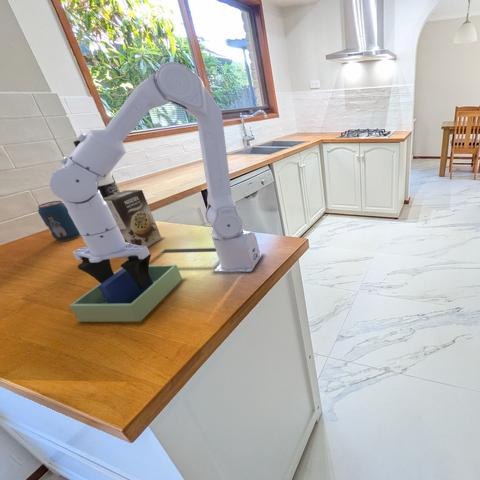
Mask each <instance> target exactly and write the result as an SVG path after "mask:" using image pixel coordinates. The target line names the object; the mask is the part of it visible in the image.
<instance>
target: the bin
mask: <svg viewBox="0 0 480 480" xmlns="http://www.w3.org/2000/svg"><path fill="white" fill-rule="evenodd" d="M121 269H122V267H121V268H119V269H118V270H117V271H115V272H113V273H114V274H116V273H117V272H118V271H120V270H121ZM149 275H150V277H151V280H152V282H153V284H152V285H151V286H150V287H149V288H148V289H147V290H146V291H144V292H143V293H142V294H141V295H140V296H139V297H138V298H137V299H136V300H134V301H133V302H132V303H128V304H108V303H107V301H106V299H105V298H104V296H103V294H102V292H101V291H100V289H99V287H98V286H99V285H100V284H101V283H100V282H99V283H97V285H95V286H94V287H93V288H91V289H90V290H89V291H87V292H86V293H84V294H83V295H81V296H80V297H79V298H77V299H76V300H74V301H73V302H72V303H70V304H69V305H68V307H69V308H70V310H71V311H72V313H73V314H74V317H76V319H77V320H78V322H95V323H96V322H107V323H108V322H122V323H123V322H124V323H125V322H141V321H143V320H144V318H146V316H147V315H149V313H151V311H153V310H154V308H155V307H157V306H158V304H159V303H161V301H162V300H164V299H165V297H166V296H168V294H169V293H170V292H171V291H173V289H174V288H175V287H176V286H177V285H178V284H179V283H180V282H181V281H182V280H183V276H182V275H181V272H180V269H179V267H178V264H149Z"/></svg>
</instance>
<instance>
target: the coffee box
mask: <svg viewBox="0 0 480 480" xmlns="http://www.w3.org/2000/svg"><path fill="white" fill-rule="evenodd" d="M103 199H104V201H105V202H106V203H107V205H108V207H109V209H110V211H111V213H112V215H113V217H114V219H115V221H116V224H117V225H118V228H119V230H120V232H121V234H122V236H123V238H124V240H125V242H126V243H130V244H134V245H139V246H147V248H148V247H150V246H152V245H154V244H156V243H157V242H159V241H160V240H162V239H163V238H162V235H161V232H160V230H159V228H158V225H157V223H156V221H155V218H154V215H153V213H152V210H151V208H150V206H149V202H148V201H147V199H146V197H145V193H144V192H143V189H130V190H129V189H125V190H122V191H120V192H119V193H116V194H113V195H111V196H108V197H105V198H103Z"/></svg>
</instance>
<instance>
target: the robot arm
mask: <svg viewBox="0 0 480 480" xmlns="http://www.w3.org/2000/svg"><path fill="white" fill-rule="evenodd" d="M167 101H168V102H169V103H171V104H174V105H176V106H178V107H180V108H182V109H183V110H184V111H185V112H186V113H187V114H189V115H190V116H191V117H193V119H195V120H196V124H197V130H198V138H199V144H200V150H201V151H200V152H201V157H202V163H203V170H204V176H205V177H204V178H205V184H206V190H207V197H206V201H207V206H206V209H205V213H204V217H205V220H206V222H207V223H208V224H209V225H210V226H211V227H212V230H211V233H210V237H211V239H212V242H213V245H214V248H215V249H216V255H217V258H218V261H219V264H218V266H217V267H215V269H214V272H218V273H219V272H241V273H250V272H252V271H253V270H254V269H255V267H256V265H257V264H258V262H259V261H260V259H262V256H263V255H262V253H261V251H260V248H259V243H258V239H257V236H256V234H255V232H253V231H248V230H245V229H244V228H243V220H242V217H241V216H240V215H239V213H238V209H237V205H236V202H235V199H234V197H233V194H232V187H231V186H232V185H231V179H230V178H231V177H230V171H229V162H228V153H227V144H226V136H225V129H224V121H223V113H222V109H221V108H220V106H219V104H218V103H217V102H216V101H215V99H214V98H213V96H212V95H211V93H210V92H209V90H208V89H207V88H206V86H205V84H204V82H203V80H202V79H201V77H200V76H198V75H197V74H196V73H195V72H193V71H192V70H191V69H189V67H187V66H186V65H184V64H183V63H180V62H176V61H168V62H164V63H163V64H161V65H160V66H159V67H158V69H157V70H155V72H154V73H152V74H151V75H149V76H148V77H147V78H145V80H143V81H142V82H141V83H140V84H138V85H137V86H136V87H135V88H134V89H133V91H132V92H131V93H130V94H129V95H128V97H127V99H125V101H124V103H123V104H122V105H121V106H120V108H119V109H118V110H117V111H116V113H115V114H114V116H113V117H112V118H111V120H110V121H109V123H107V125H106V126H105V128H104V129H90V130H89V131H87V133H86V134H85V133H83V132H81V133H80V134H79V136H78V137H77V138H76V140H79V141H80V143H79V144H78V146H77V147H75V148H74V149H73V150H72V152H71V153H70V154H69V155H68V157H66V156H63V157H61V159H60V161H59V163H60V164H62V165H64V166H62V167H60V168H59V169H56V170H55V171H53V173H52V176H51V177H50V180H49V187H50V190H51V192H52V193H53V194H54V195H55V196H56V197H57V198H58V199H61V201H62V203H64V205H65V206H66V208H67V209H68V213H69V215H70V217H71V218H72V220H73V222H74V224H75V226H76V228H77V229H78V231H79V233H80V235H79V236H80V237H81V238H82V241H83V242H84V244H85V246H84V247H79V248H78V249H76V250H74V251H72V256H74V258H75V260H76V261H81V263H79V264H78V265H77V268H78V270H80V271H82V272H84V273H86V274H88V275H90V276H91V277H92V278H93V279H95V280H96V281H97V282H98V283H99V284H100V283H101V284H102V283H103V282H104V281H106V280H107V279H109V278H110V277H111V276H113V275H114V273H115V272H114V271H113V268H112V265H111V260H112V259H127V260H126V261H124V262H123V263H121V264H120V265H119V266H120V267H121V268H123V269H125V270H126V271H127V272H128V273H129V274H130V275H131V276H132V277H133V279H134V281H135V282H136V284H137V286H138V287H139V288H140V289H144V288H146V287H147V286H148V285H149V284H150V281H149V265H150V261H151V257H152V254H151V252H150V250H149V248H148V247H147V246H139V245H134V244H130V243H126V242H125V240H124V238H123V236H122V234H121V232H120V230H119V228H118V225H117V224H116V221H115V219H114V217H113V215H112V213H111V211H110V209H109V207H108V205H107V203H106V202H105V201H104V199H103V197H102V195H101V193H100V191H99V190H97V188H98V185H99V181H100V180H103V179H105V178H106V177H107V176H108V174H109V173H110V172H111V173H112V171H113V169H115V167H116V166H117V165H118V163H119V162H120V160H121V159H123V157H124V156H125V154H126V151H127V150H126V148H125V146H124V141H125V140H126V138H127V137H128V136H129V135H130V134H131V133H132V131H134V129H135V128H136V127H137V126H138V124H139V123H140V122H141V121H143V119H144V118H145V116H146V115H147V114H148V113H149V112H150V111H151V110H152V109H156V108H159V107H162V106H165V105H168V104H169V103H168V102H167Z"/></svg>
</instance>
